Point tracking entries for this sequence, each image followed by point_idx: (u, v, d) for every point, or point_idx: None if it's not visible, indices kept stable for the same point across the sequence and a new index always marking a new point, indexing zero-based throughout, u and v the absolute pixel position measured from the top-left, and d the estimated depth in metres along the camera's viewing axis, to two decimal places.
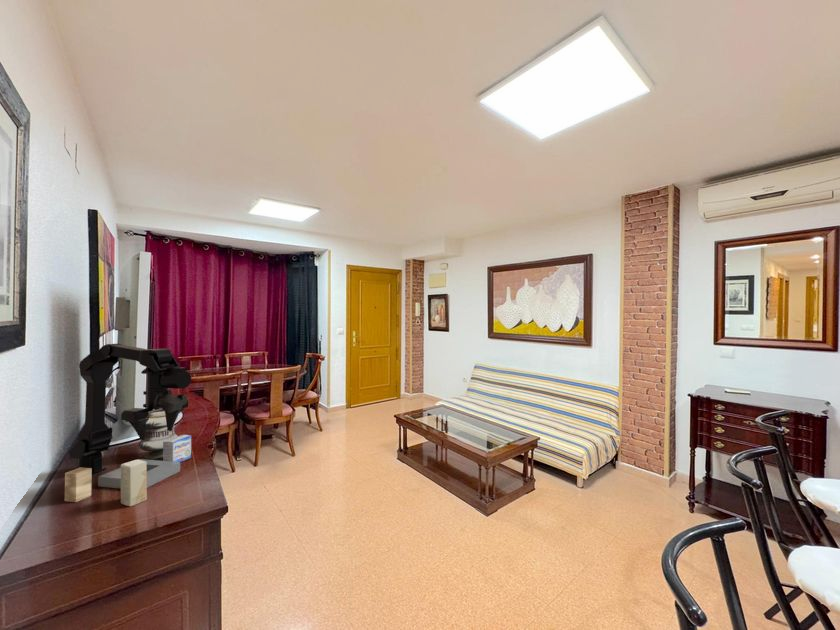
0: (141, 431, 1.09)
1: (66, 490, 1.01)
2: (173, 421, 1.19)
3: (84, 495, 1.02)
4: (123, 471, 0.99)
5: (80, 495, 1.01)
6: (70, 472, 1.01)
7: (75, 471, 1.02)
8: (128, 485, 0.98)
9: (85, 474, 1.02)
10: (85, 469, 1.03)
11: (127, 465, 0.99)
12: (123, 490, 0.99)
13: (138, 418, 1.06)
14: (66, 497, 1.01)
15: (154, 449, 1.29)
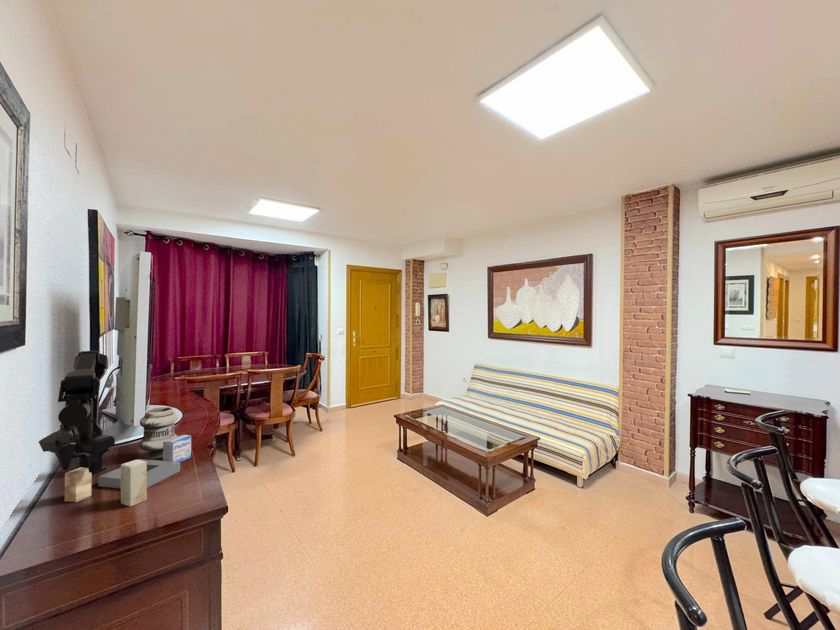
0: None
1: (66, 490, 1.01)
2: (88, 462, 1.01)
3: (84, 495, 1.02)
4: (123, 471, 0.99)
5: (80, 495, 1.01)
6: (70, 472, 1.01)
7: (75, 471, 1.02)
8: (128, 485, 0.98)
9: (85, 474, 1.02)
10: (85, 469, 1.03)
11: (127, 465, 0.99)
12: (123, 490, 0.99)
13: None
14: (66, 497, 1.01)
15: (154, 449, 1.29)
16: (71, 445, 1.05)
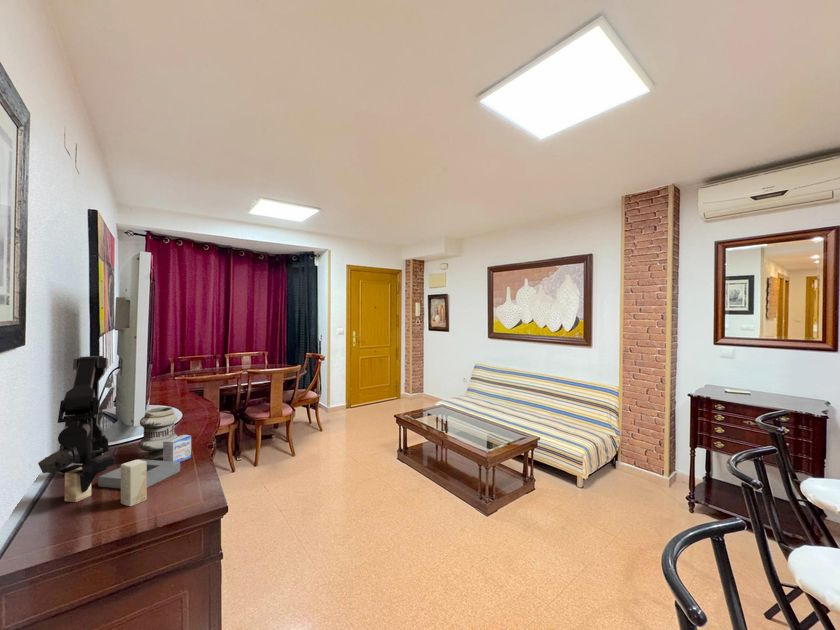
0: None
1: (66, 490, 1.01)
2: (81, 482, 1.01)
3: (84, 495, 1.02)
4: (123, 471, 0.99)
5: (80, 495, 1.01)
6: (70, 472, 1.01)
7: (75, 471, 1.02)
8: (128, 485, 0.98)
9: None
10: None
11: (127, 465, 0.99)
12: (123, 490, 0.99)
13: None
14: (66, 497, 1.01)
15: (154, 449, 1.29)
16: (77, 465, 1.05)
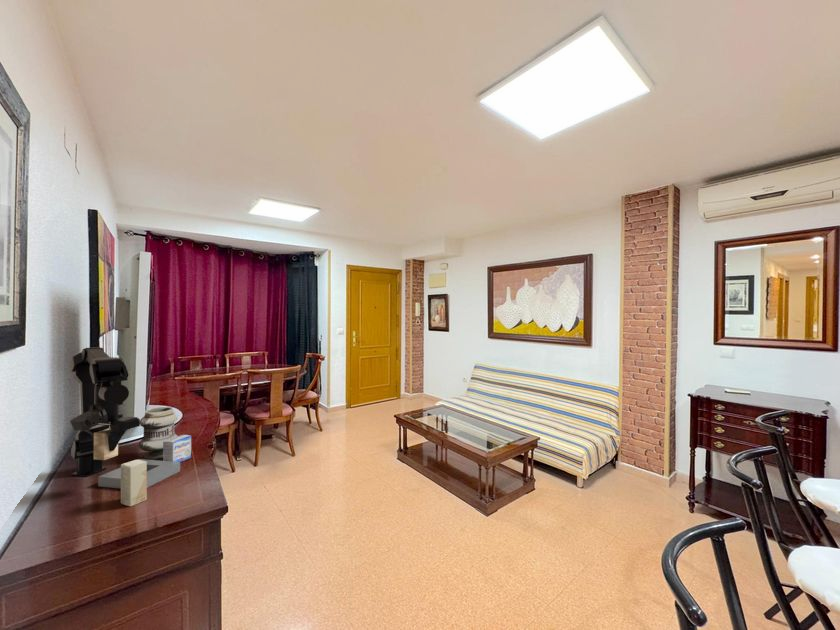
0: None
1: (95, 449, 1.06)
2: (109, 441, 1.06)
3: (111, 454, 1.08)
4: (123, 471, 0.99)
5: (108, 454, 1.07)
6: (98, 432, 1.07)
7: None
8: (128, 485, 0.98)
9: None
10: None
11: (127, 465, 0.99)
12: (123, 490, 0.99)
13: None
14: (95, 455, 1.06)
15: (154, 449, 1.29)
16: (105, 426, 1.10)
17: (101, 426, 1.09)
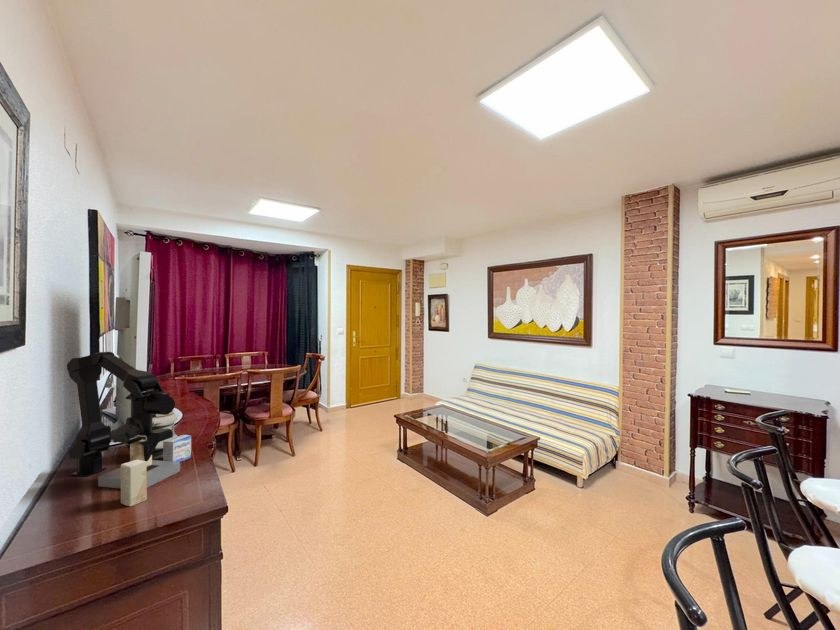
0: None
1: (131, 459, 1.14)
2: (144, 452, 1.14)
3: None
4: (123, 471, 0.99)
5: None
6: (134, 443, 1.14)
7: (138, 442, 1.15)
8: (128, 485, 0.98)
9: None
10: None
11: (127, 465, 0.99)
12: (123, 490, 0.99)
13: (110, 437, 1.14)
14: None
15: (154, 449, 1.29)
16: (139, 438, 1.18)
17: (136, 437, 1.17)
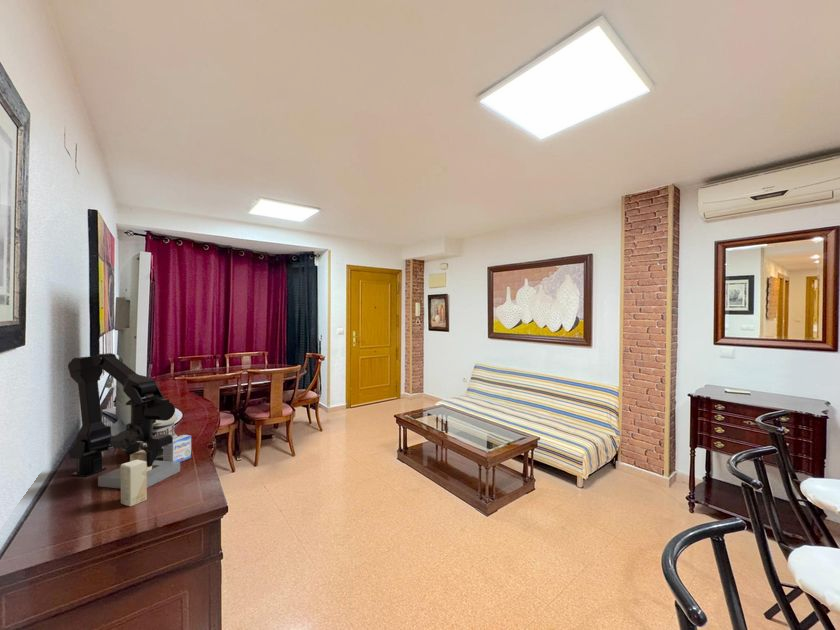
0: None
1: None
2: (147, 458, 1.14)
3: None
4: (123, 471, 0.99)
5: None
6: (134, 454, 1.14)
7: (138, 453, 1.15)
8: (128, 485, 0.98)
9: None
10: None
11: (127, 465, 0.99)
12: (123, 490, 0.99)
13: (110, 443, 1.14)
14: None
15: None
16: (136, 443, 1.18)
17: None
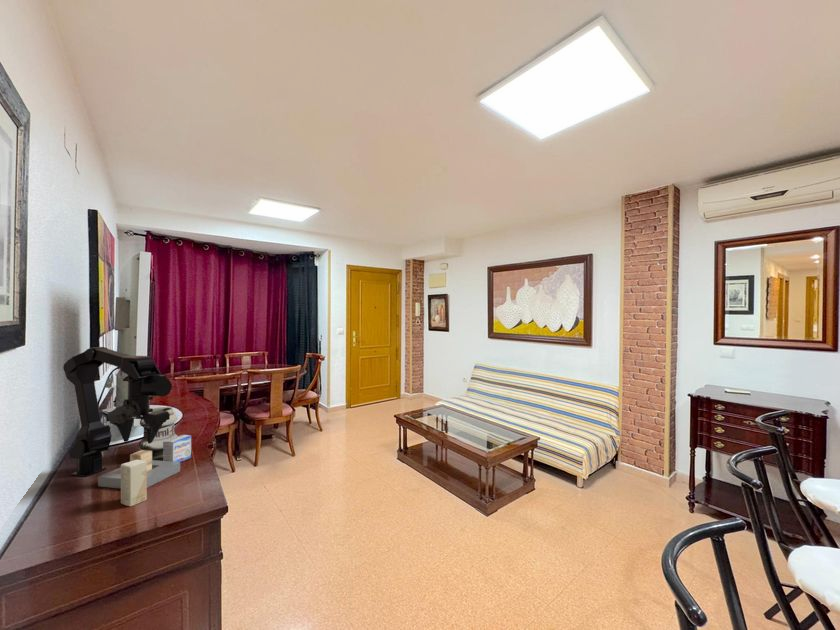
0: None
1: None
2: (148, 434, 1.14)
3: None
4: (123, 471, 0.99)
5: None
6: (134, 454, 1.14)
7: (138, 453, 1.15)
8: (128, 485, 0.98)
9: (147, 455, 1.15)
10: (147, 451, 1.16)
11: (127, 465, 0.99)
12: (123, 490, 0.99)
13: (107, 419, 1.14)
14: None
15: (154, 449, 1.29)
16: (130, 420, 1.18)
17: (126, 419, 1.17)
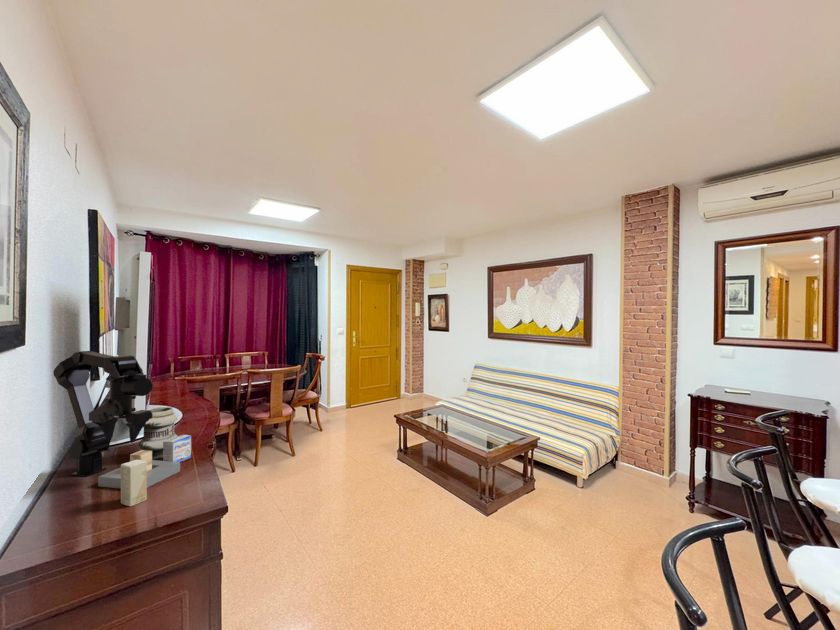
0: None
1: None
2: (130, 433, 1.14)
3: None
4: (123, 471, 0.99)
5: None
6: (134, 454, 1.14)
7: (138, 453, 1.15)
8: (128, 485, 0.98)
9: (147, 455, 1.15)
10: (147, 451, 1.16)
11: (127, 465, 0.99)
12: (123, 490, 0.99)
13: (89, 418, 1.14)
14: None
15: (154, 449, 1.29)
16: (113, 419, 1.18)
17: (109, 419, 1.17)
